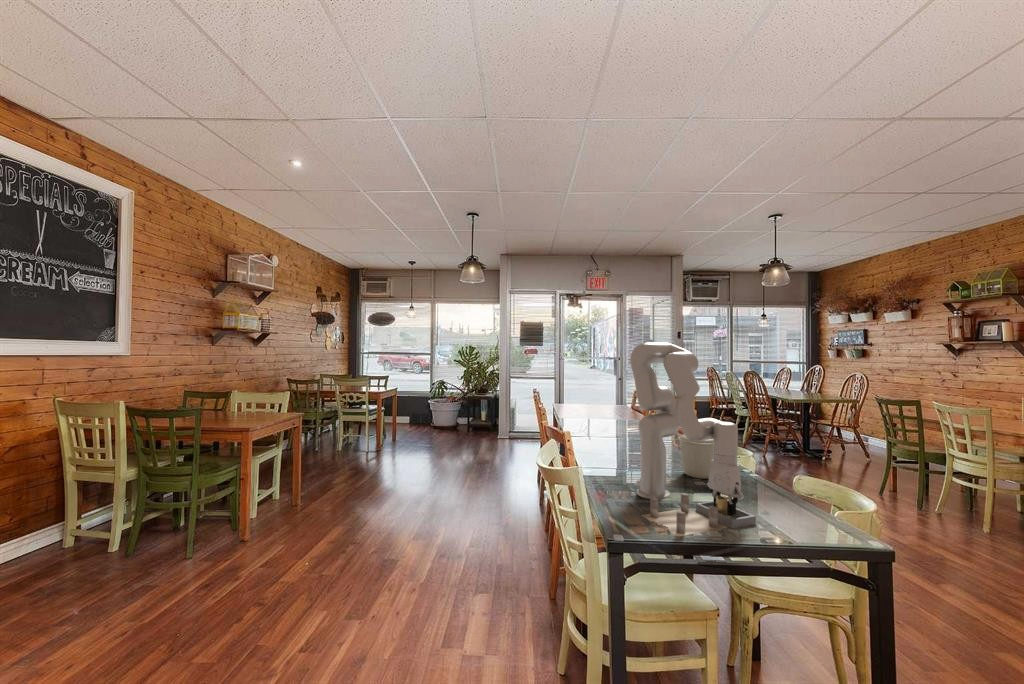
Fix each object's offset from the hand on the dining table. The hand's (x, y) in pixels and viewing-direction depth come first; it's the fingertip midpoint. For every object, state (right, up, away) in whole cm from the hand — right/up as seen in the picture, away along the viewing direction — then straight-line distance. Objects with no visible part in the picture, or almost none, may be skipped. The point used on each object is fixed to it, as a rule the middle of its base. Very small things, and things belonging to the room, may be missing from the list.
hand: (724, 511), depth 157 cm
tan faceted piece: (0, 0, 0) cm, 0 cm away
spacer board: (-16, -3, -4) cm, 16 cm away
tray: (0, -3, 0) cm, 3 cm away
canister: (+12, -3, +50) cm, 52 cm away
